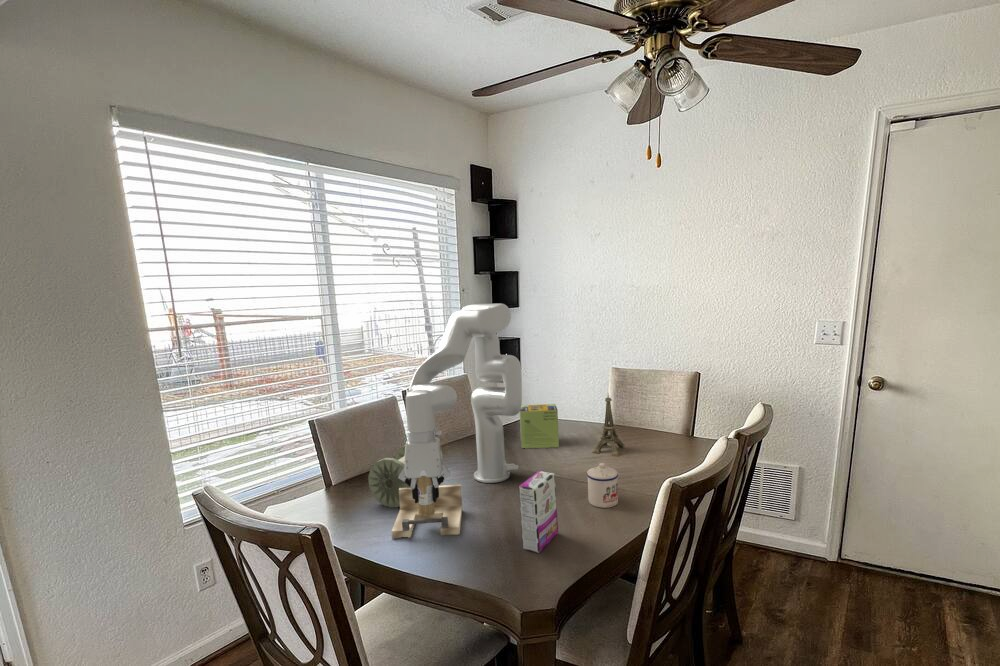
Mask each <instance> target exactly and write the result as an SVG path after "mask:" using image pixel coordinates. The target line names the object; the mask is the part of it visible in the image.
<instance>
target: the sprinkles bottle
mask: <svg viewBox="0 0 1000 666" xmlns="http://www.w3.org/2000/svg"><path fill="white" fill-rule="evenodd" d="M420 476H423V477H421V478H417V485H418V488H417V489H418V504H419V515H420V516H423V517H427V516H431V515H433V514H434V513H435V510H434V502H433V485H434V484H433V481H432V477H431V478H428V477H425V476H427V474H426V472H425V471H424V470H423V471H421V473H420Z"/></svg>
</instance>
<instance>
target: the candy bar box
mask: <svg viewBox="0 0 1000 666" xmlns="http://www.w3.org/2000/svg"><path fill="white" fill-rule="evenodd" d="M556 488H557V487H556V473H554V472H549V471H543V470H538V471H537V472H536V473H534V474H533V475H532V476H530V477H529V478H527V480H525V481H524V482H523V483H521V484H520V485H519V486H518V493H519V494H518V495H519V509H520V520H521V521H520V522H521V524H520V525H521V536H522V540H521V541H522V549H523V550H526V551H530V552H534V553H538V554H539V553H541V552H542V551H543V550H544V549H545V548H546V547H547V546H548V544H549V543H551V541H552V540H553V539H554V538H555V537H556V536H557V535H558V534H559V525H558V524H559V523H558V507H557V492H556V491H557V490H556Z"/></svg>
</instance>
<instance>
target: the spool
mask: <svg viewBox="0 0 1000 666" xmlns="http://www.w3.org/2000/svg"><path fill="white" fill-rule="evenodd" d="M405 446H406V444H404V445H402V446H401V448H400V449H399V450H397V453H396V456H395V458H393V457H385V458H382V459H380V460H377V461H376V462H375V463H374V464H373V465H372V467H370V469H369V470H370V471H369V473H368V477H367V479H368V487H369V489H370V492H371V494H372V496H373V497H374V499H376V501H377V502H378V503H380V504H382V505H383V506H385V507H386V506H389V507H388V508H393V507H396V508H398V507H399V508H400V501H399V488H409V487H410V486H409V485H407V484H406V483H405V482H404V481H402V480H400V479H399V478H398V476H399V474H400V473H401V471H402V470H403V468H404V466H405ZM411 479H412V478H411ZM416 484H417V482H416ZM396 508H395V509H396Z"/></svg>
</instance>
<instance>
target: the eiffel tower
mask: <svg viewBox="0 0 1000 666" xmlns="http://www.w3.org/2000/svg"><path fill="white" fill-rule="evenodd" d="M612 401H613V399H612V397H610V395H609V394H607V397H605V400H604V402H606V403H605V416H604V425H602V429H603V431H602V436H601V437H600V440H599V442H598V443H597V445H596V446H595V448H594V450H593V451H592V452H591V454H597V455H600V454H601V453H602V449H603V448H606V449H607V448H608V447H609V445H611V451H612V453H611V456H612V457H615V458H616V457H618V458H619V457H620V456H621V455H622V454H621V453H620V451H626V450H628V447H626V446H625V444H624V443H623V442H622V440H621V439H620V438H619V435H617V432H616V427H617V426H616V424H615V423H614V417H613V412H612V404H611V402H612ZM617 447H618V448H617Z"/></svg>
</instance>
